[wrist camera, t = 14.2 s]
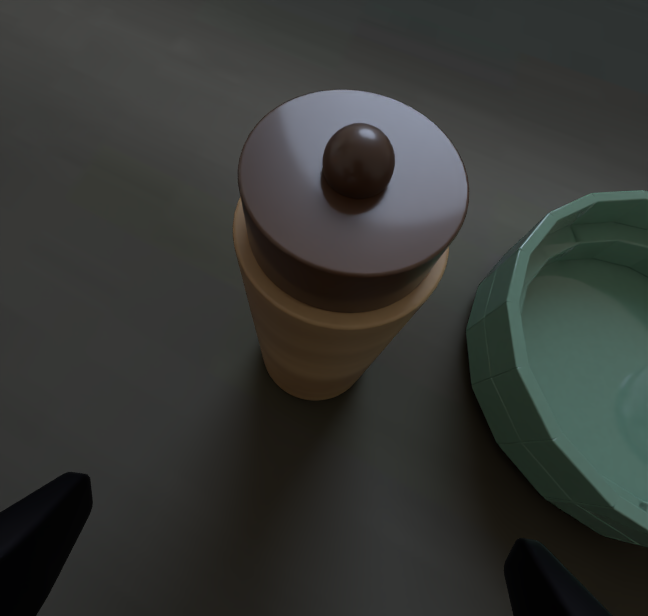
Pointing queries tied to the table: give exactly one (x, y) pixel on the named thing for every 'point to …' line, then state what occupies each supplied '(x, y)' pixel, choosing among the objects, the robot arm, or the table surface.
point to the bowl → (572, 360)
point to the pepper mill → (342, 231)
